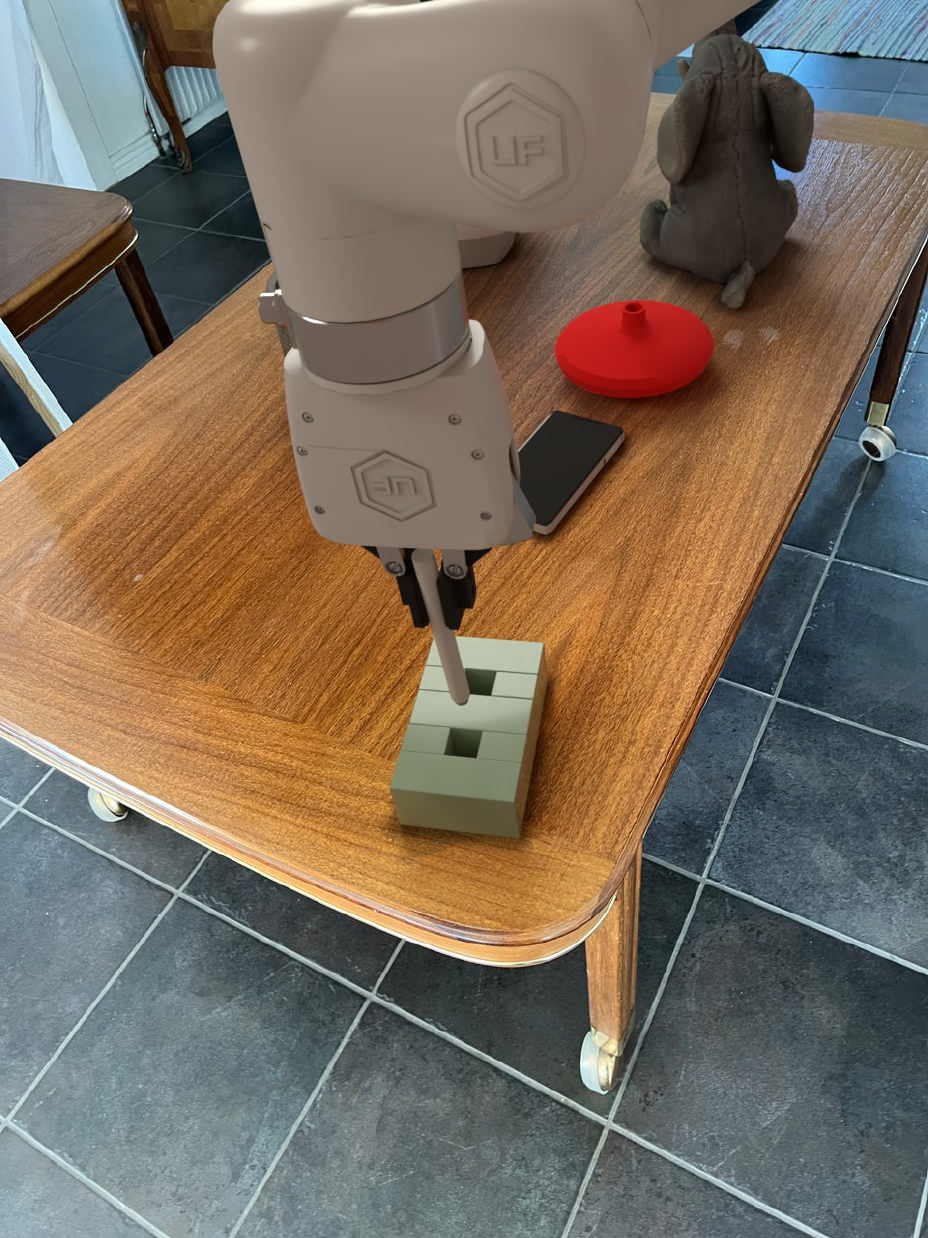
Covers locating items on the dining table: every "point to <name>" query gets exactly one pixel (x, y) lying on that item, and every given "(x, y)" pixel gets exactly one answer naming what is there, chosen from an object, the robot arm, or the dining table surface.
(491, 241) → the bowl
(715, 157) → the stuffed elephant
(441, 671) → the pen holder
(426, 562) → the grey cylindrical rod
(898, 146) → the dining table surface
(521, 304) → the dining table surface
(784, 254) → the dining table surface
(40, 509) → the dining table surface
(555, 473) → the smartphone
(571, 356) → the red disc with nozzle
